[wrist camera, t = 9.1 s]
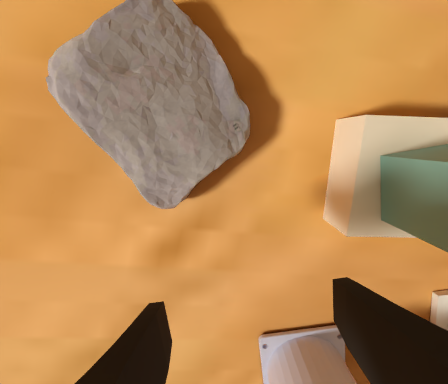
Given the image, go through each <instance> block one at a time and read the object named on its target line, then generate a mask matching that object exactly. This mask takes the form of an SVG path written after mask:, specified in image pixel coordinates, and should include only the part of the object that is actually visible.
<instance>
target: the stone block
mask: <svg viewBox="0 0 448 384" xmlns="http://www.w3.org/2000/svg"><path fill="white" fill-rule="evenodd" d="M48 73H49V76H48V77H46V81H47V84H48V90H49V92H50V93H51V94H52V96H53V97H54V98H55V99H56V101H57V102H58V104H59V105H60V107H61V108H62V109H63V110H64V111H65V112H66V113H67V115H68V116H69V117H70V118H71V119H72V120H73V121H74V122H75V123H76V124H77V125H78V126H79V127H80V128H81V129H82V130H83V131H84V132H85V133H86V134H87V135H88V136H89V137H90V138H91V139H92V140H93V141H94V142H95V143H96V144H97V145H98V146H99V147H100V148H102V149H103V150H104V151H105V152H106V153H107V154H108V155H109V156H110V157H111V158H112V159H113V160H114V161H115V162H116V163H117V164H118V165H119V166H120V167H121V168H122V169H123V171H124V172H125V173H126V175H127V176H128V177H129V178H130V179H131V180H132V181H133V183H134V184H135V186H136V187H137V189H138V191H139V192H140V194H141V195H142V196H143V197H144V198H145V199H146V201H147V202H149V203H150V204H151V205H153V206H156V207H158V208H161V209H170V208H175V207H176V206H177V205H178V204H179V203H180V202H182V201H183V200H184V199H185V198H186V197H187V196H188V195H189V194H190V192H191V190H192V189H193V188H194V187H195V186H196V184H198V183H199V182H200V181H201V180H202V179H204V178H205V177H206V176H207V175H209V174H210V173H211V172H212V171H214V170H215V169H217V168H218V167H219V166H221V165H222V164H223V163H224V162H225V161H226V160H228V159H230V158H233V157H234V156H236V155H238V154H239V153H240V151H241V150H242V149H243V147H244V145H245V143H246V141H247V139H248V138H249V135H250V112H249V110H248V108H247V105H246V104H245V103H244V102H243V101H242V100H241V99H240V98H239V96H238V94H237V91H236V89H235V86H234V82H233V79H232V76H231V75H230V73H229V70H228V68H227V66H226V64H225V62H224V60H223V59H222V57H221V56H220V55H219V53H218V51H217V49H216V47H215V46H214V44H213V42H212V40H211V39H210V38H209V37H208V36H207V35H206V34H205V32H203V31H202V30H201V29H200V28H199V27H198V26H196V25H194V24H193V22H192V20H191V19H190V17H189V16H188V15H186V14H185V13H184V12H183V11H181V10H180V9H179V8H178V6H177V5H176V4H175V3H174V2H173V1H172V0H126V1H125V2H124V3H122V4H120V5H119V6H117V7H115V8H114V9H112V10H110V11H109V12H107V13H106V14H104V15H103V16H102V17H100V18H99V19H97V20H95V21H94V22H93V24H92V25H91V26H90V27H89V28H88V29H87V30H86V31H85V32H84V33H83V34H80V35H78V36H76V37H74V38H72V39H71V40H69V41H68V42H66V43H64V44H63V45H62V46H61V47H59V48H58V49H57V50H56V51H55V52H54V54H53V56H52V57H51V58H50V59H49V62H48Z"/></svg>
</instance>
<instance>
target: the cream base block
mask: <svg viewBox="0 0 448 384" xmlns="http://www.w3.org/2000/svg"><path fill="white" fill-rule="evenodd" d="M445 144H448V118H437V117H411V116H384V115H362V116H356V117H349V118H343V119H337V120H336V124H335V132H334V139H333V147H332V154H331V162H330V169H329V177H328V184H327V192H326V200H325V207H324V215H323V219H324V220H326V221H327V222H328V223H330V224H331V225H332V226H334V227H335V228H336V229H337V230H339V231H340V232H341V233H343V234H344V235H345V236H355V237H414V238H417V237H415V236H413V235H411V234H409V233H407V232H405V231H403V230H401V229H399V228H396V227H394V226H392V225H390V224H388V223H386V222H384V221H382V220H381V167H380V156H381V155H387V154H393V153H399V152H405V151H410V150H416V149H422V148H428V147H433V146H439V145H445Z"/></svg>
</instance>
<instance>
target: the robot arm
mask: <svg viewBox="0 0 448 384" xmlns="http://www.w3.org/2000/svg"><path fill="white" fill-rule="evenodd" d="M333 311H334V322H335V324H336V325H332V326H324V327H317V328H309V329H302V330H294V331H287V332H279V333H271V334H264V335H261V336H260V337H259V347H260V356H261V365H262V374H263V383H264V384H357V383H356V381H355V379H354V378H353V376H352V374H351V372H350V371H349V369H348V367H347V365H346V364H345V344H346V346H347V347H348V349H349V350H350V352H351V354H352V355H353V357H354V358H355V360H356V361H357V363H358V365H359V366H360V368H361V369H362V371H363V372H364V374H365V375H366V377H367V378H368V380H369V381H370V383H371V384H448V330H446V329H444V328H441V327H439V326H437V325H435V324H433V323H431V322H429V321H427V320H425V319H423V318H421V317H419V316H417V315H415V314H413V313H411V312H410V311H408V310H406V309H404V308H402V307H400V306H398V305H396V304H395V303H393V302H391V301H389V300H387V299H386V298H384V297H382V296H380V295H378V294H377V293H375V292H373V291H371V290H370V289H368V288H366V287H364V286H362V285H361V284H359V283H357V282H355V281H353V280H351V279H349V278H347V277H346V278H339V279H333ZM339 334H340V335H339ZM264 344H266V345H264ZM171 347H172V338H171V334H170V329H169V324H168V320H167V315H166V310H165V306H164V301H163V302H156V303H149V304H148V305H147V306H146V308H145V309H144V310H143V311H142V312H141V313H140V315H139V316H138V317H137V318H136V319H135V320H134V322H133V323H132V324H131V325H130V326H129V327H128V328H127V330H126V331H125V332H124V333H123V334H122V335H121V336H120V338H119V339H118V340H117V341H116V342H115V343H114V344H113V345H112V346H111V347H110V348H109V350H108V351H107V352H106V353H105V354H104V355H103V356H102V357H101V358H100V359H99V360H98V361H97V362H96V363H95V364H94V365H93V366H92V367H91V368H90V369H89V370H88V371H87V372H86V373H85V374H84V375H83V376H82V377H81V378H80V379H79V380H78V381H77V382H76V383H75V384H165V383H166V378H167V374H168V370H169V363H170V356H171Z"/></svg>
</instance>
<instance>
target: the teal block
mask: <svg viewBox="0 0 448 384" xmlns="http://www.w3.org/2000/svg"><path fill="white" fill-rule="evenodd" d="M380 167H381V220H382V221H384V222H386V223H388V224H390V225H392V226H394V227H396V228H399V229H401V230H403V231H405V232H407V233H409V234H411V235H413V236H415V237H417V238H419V239H421V240H423V241H425V242H428V243H430V244H432V245H434V246H436V247H438V248H440V249H442V250H444V251H446V252H448V144H445V145H439V146H433V147H428V148H422V149H416V150H410V151H405V152H399V153H393V154H387V155H381V156H380Z"/></svg>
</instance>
